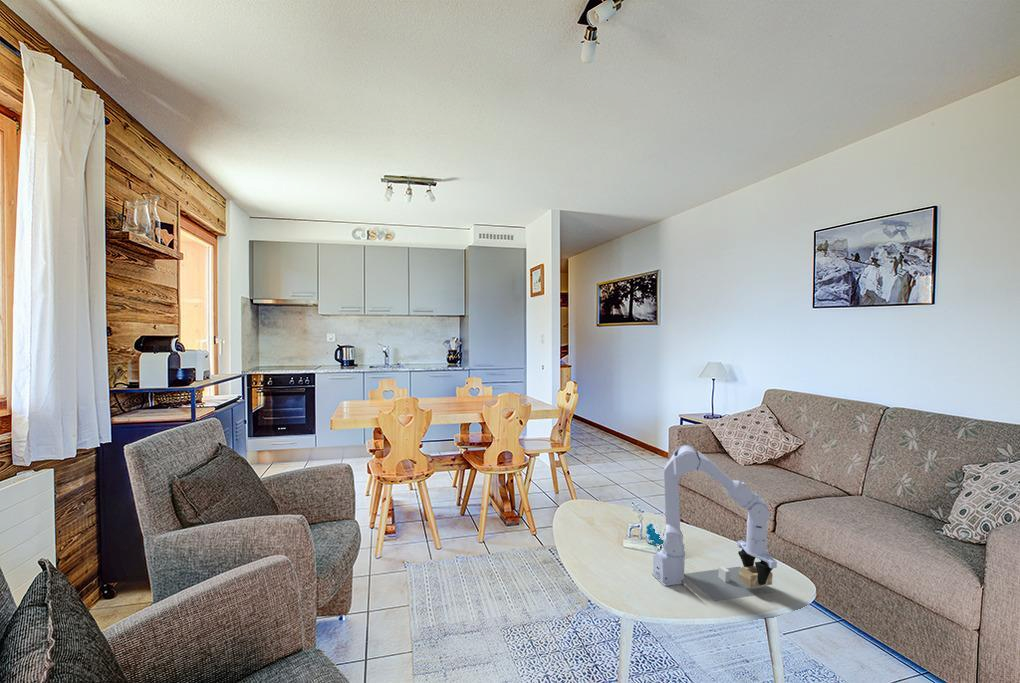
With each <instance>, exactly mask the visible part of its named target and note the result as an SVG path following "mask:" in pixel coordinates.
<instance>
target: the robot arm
mask: <svg viewBox="0 0 1020 683" xmlns="http://www.w3.org/2000/svg"><path fill="white" fill-rule="evenodd" d="M695 470H696V472H698V473H699V472H700V473H701V472H702V473H703V472H704V473H706V474H708V475H709V476H710V477H711V478H712V479H714V480H715V481H716V482H718V483H719V484H721V485H722V486H723V487H724V488H725V492H726V495H728V496H729V498H731V500H733V501H734V502H736V503H737V504H738V505H739V506H740V507H741V508H742V509H745V510H747V511H748V512H747V520H746V538H745V539H746V540H745V541H744V540H742V539H741V540H737V543H736V544H737V548H738V549H741V550H738V553H737V555H738V556H739V557H740V559H741V562H742V565H743V567H750V566H756V568H757V573H758V583H759V585H765V584H766V581H767V578H768V576H769V574H770V572H771V573H772V570H773V569H777V566H778V564H777V563H778V561H777V560H776V559H774V558H773V557H772V556H771V554H769V553H770V552H769V550H768V547H767V546H768V519H769V518H770V516H771V511H770V509H769V507H768V505H767V504H766V501H765V500H764V499H763V498H762V497H761V496H760V495H759V494H757V493H754V492H753V491H752V490H751V489H750V488H748V485H747V484H746V482H744V481H742V482H741V481H740V480H738V479H737V480H736V479H732V478H730V477H729V476H728V475H727V474H726V473H725V472H724V471H722V470H721V469H720V467H718V466H717V464H715V463H714V462H713V461H712V460H711V459H710V458H708V457H707V456H706V455H704V453H702V452H700V451H699V450H696V448H695V447H694V446H692V445H690V444H684V445H681V446H679V447H678V448H677V449H675V450H674V452H673V454H672V456H671V457H670V458H669V460H668V461H667V463H666V464H665V466H664V468H663V479H664V480H663V482H664V483H663V484H664V506H665V507H664V508H665V510H664V511H665V512H664V513H665V529H664V531H663V532H662V533H663V536H664V544H663V547H662V546H661V547H662V548H661V549H660V551H658V552H656V553H654V555H653V557H652V558H653V559H652V560H653V562H652V563H653V564H652V566H653V568H652V572H651V574H652V575H653V577H655V578H656V579H657V580H658V581H659V582H660V583H661V584H662V585H663V586H665V587H666V586H674V585H681V584H685V582H684V581H683V580H684V579H685V575H684V574H685V559H686V558H685V557H686V556H685V555H686V554H685V552H686V551H685V545H684V535H683V532H682V531H681V521H680V520H681V518H680V517H681V516H680V515H681V514H680V492H679V491H680V488H679V487H680V486H679V478H680V477H681V476H683V475H684V474H686V473H688V472H692V471H695ZM756 559H758V560H760V561H755V560H756Z"/></svg>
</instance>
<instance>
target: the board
mask: <svg viewBox="0 0 1020 683" xmlns="http://www.w3.org/2000/svg"><path fill="white" fill-rule="evenodd" d="M739 568H742V567H741V566H735V567H733V566H732V567H725V566H724V565H720V566H718V569H712V570H710V569H709V570H703V571H695V572H688V573H684V577H686V578H687V579H689V580H690V581H691V582H692V583H693V584H694V585H695V586H697V587H698V588H699V589H700V590H701V591H702V592H703V593H705V594H706V595H707V596H708V597H710V598H711V599H712V600H713V601H714V602H718V601H725V600H730V599H731V600H732V599H737V598H738V599H739V598H744V597H746V598H747V597H752V596H759V595H765V594H772V593H776V592H777V591H776V590H774V589H772V588H771V587H770V586H769V585H765V586H757V587H749V586H748V585H746V584H745V583H744V582H742V581H741V580H740V579H739Z"/></svg>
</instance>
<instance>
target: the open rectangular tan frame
mask: <svg viewBox="0 0 1020 683" xmlns="http://www.w3.org/2000/svg"><path fill="white" fill-rule="evenodd" d="M739 579H740V580H741V581H742V582H744V583H745V584H746V585H748V586H749V587H757V586H765V585H767V586H769V585H771V586H772V585H773V572H772V571H771V572H770V574H769V576H768V578H767V581H766V584H765V585H759V583H758V573H757V568H756V565H754V566H750V567H744V566H743V567H741V568H739Z"/></svg>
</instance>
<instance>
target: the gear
mask: <svg viewBox="0 0 1020 683" xmlns="http://www.w3.org/2000/svg"><path fill="white" fill-rule="evenodd" d="M653 525H654V524H653V523H649V524H648V525H647V526H646V527H645V528H646V530H645V534H646V535H648V536H647V539H648V541H649V540H654V541H652V542H651V544H652V545H653V546H656V545H657V546H659V545H661V544H663V540H661V539H659V538H660V537H659V536H660V535H659V534H656V533H655V529H654V527H653ZM658 544H659V545H658Z"/></svg>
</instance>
